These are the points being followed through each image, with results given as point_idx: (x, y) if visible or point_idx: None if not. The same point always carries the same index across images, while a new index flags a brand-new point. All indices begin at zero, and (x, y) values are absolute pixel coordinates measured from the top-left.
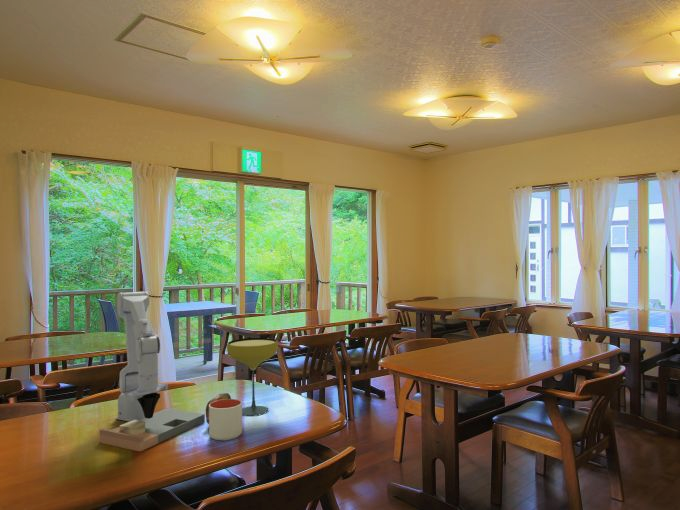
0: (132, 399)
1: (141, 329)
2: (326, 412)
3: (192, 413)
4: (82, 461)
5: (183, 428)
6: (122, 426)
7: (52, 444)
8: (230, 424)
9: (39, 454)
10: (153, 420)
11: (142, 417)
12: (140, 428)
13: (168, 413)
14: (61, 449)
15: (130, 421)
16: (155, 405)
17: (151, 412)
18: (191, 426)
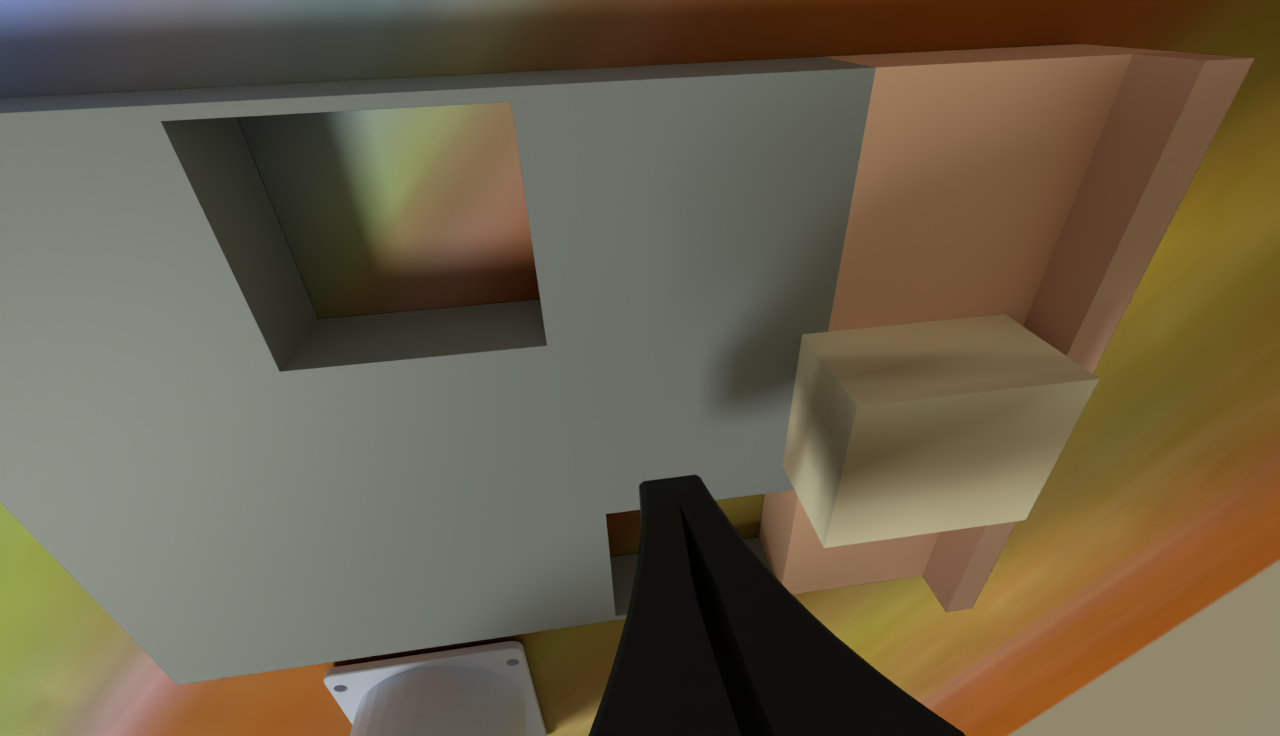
0: None
1: None
2: None
3: None
4: (1253, 337)
5: (329, 88)
6: (1041, 482)
7: (970, 655)
8: None
9: (1104, 597)
10: (502, 524)
11: (434, 670)
12: (900, 359)
13: (251, 573)
14: (1035, 581)
15: (886, 536)
16: (640, 620)
17: (698, 529)
18: (151, 92)
